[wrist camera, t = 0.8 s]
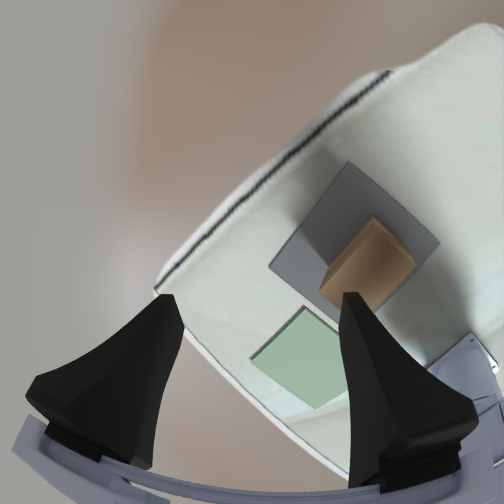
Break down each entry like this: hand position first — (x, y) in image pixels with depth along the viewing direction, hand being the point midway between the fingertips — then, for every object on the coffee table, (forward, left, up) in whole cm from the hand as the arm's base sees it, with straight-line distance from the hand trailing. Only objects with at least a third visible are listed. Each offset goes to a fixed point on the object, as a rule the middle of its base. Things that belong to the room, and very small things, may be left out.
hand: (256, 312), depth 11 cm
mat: (-10, +14, -17) cm, 25 cm away
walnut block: (-5, -1, -17) cm, 18 cm away
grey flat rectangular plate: (-4, +1, -17) cm, 18 cm away
